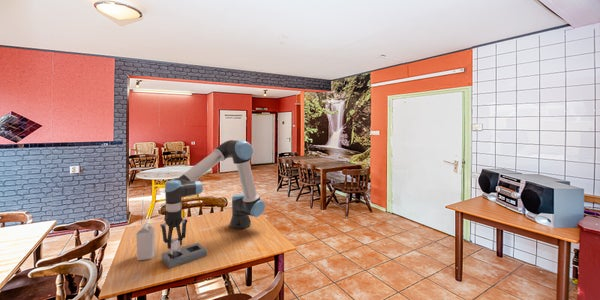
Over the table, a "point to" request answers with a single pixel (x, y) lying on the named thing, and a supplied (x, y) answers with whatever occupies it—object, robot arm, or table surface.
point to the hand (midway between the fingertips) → (175, 252)
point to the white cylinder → (175, 247)
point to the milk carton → (145, 242)
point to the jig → (184, 255)
